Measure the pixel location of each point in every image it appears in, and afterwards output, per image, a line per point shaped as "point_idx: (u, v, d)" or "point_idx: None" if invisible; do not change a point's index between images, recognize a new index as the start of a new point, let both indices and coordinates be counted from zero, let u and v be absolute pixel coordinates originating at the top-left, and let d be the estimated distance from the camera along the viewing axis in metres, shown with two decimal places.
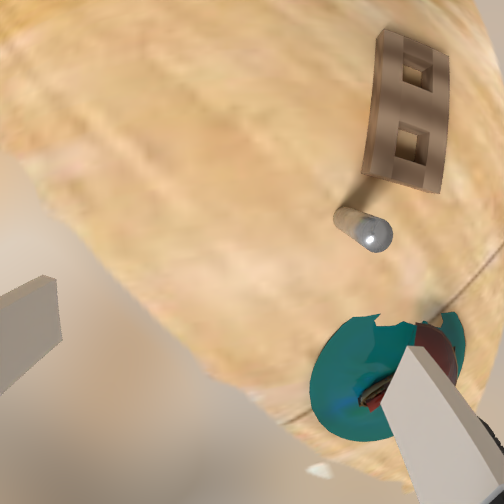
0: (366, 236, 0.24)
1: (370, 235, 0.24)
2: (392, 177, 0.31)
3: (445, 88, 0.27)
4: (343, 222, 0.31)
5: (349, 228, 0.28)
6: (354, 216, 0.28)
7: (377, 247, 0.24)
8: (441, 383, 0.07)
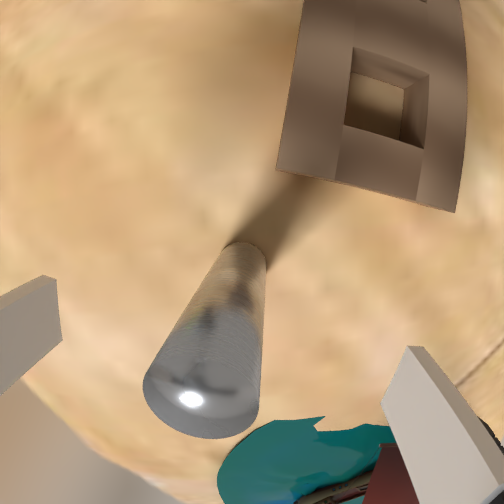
0: (160, 400, 0.07)
1: (173, 399, 0.07)
2: (337, 176, 0.13)
3: (452, 1, 0.10)
4: None
5: None
6: (194, 296, 0.11)
7: (205, 428, 0.07)
8: (441, 383, 0.07)
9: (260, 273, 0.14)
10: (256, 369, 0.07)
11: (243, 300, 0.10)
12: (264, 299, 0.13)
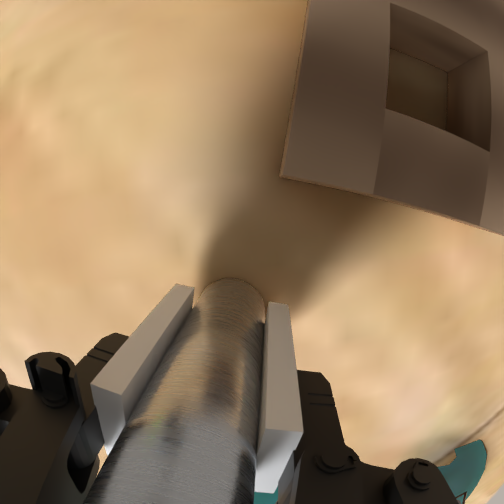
0: None
1: None
2: (378, 189, 0.08)
3: None
4: None
5: None
6: (140, 404, 0.05)
7: None
8: (276, 331, 0.09)
9: (255, 339, 0.09)
10: None
11: (220, 429, 0.05)
12: (260, 387, 0.08)
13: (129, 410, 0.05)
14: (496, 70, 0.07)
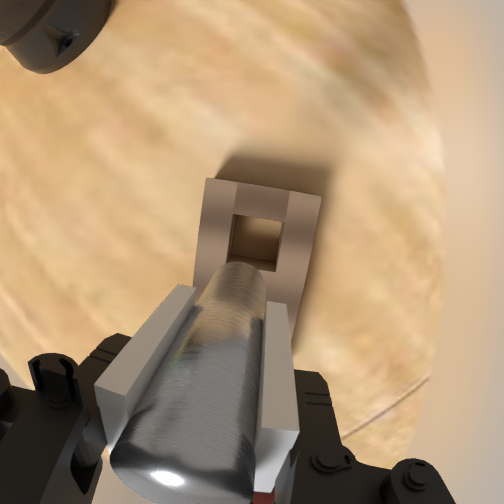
0: (132, 477, 0.04)
1: (147, 479, 0.04)
2: None
3: (302, 259, 0.26)
4: None
5: None
6: (177, 339, 0.08)
7: None
8: (274, 330, 0.09)
9: (258, 303, 0.12)
10: (250, 448, 0.05)
11: (236, 349, 0.08)
12: None
13: (132, 411, 0.05)
14: None
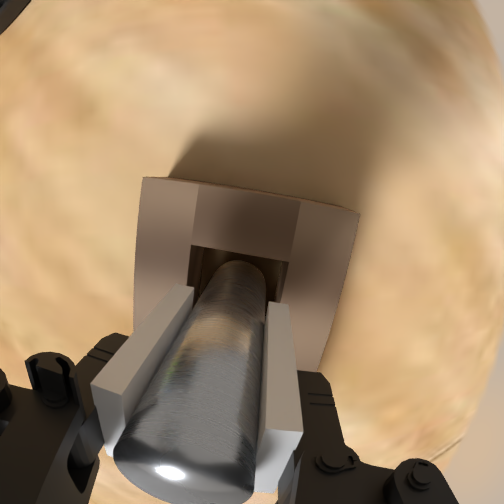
0: (135, 472, 0.05)
1: (150, 474, 0.05)
2: None
3: (317, 325, 0.14)
4: None
5: None
6: (179, 337, 0.09)
7: (191, 501, 0.05)
8: (276, 331, 0.09)
9: (259, 301, 0.12)
10: (252, 443, 0.05)
11: (238, 346, 0.08)
12: (263, 334, 0.11)
13: (129, 410, 0.05)
14: None
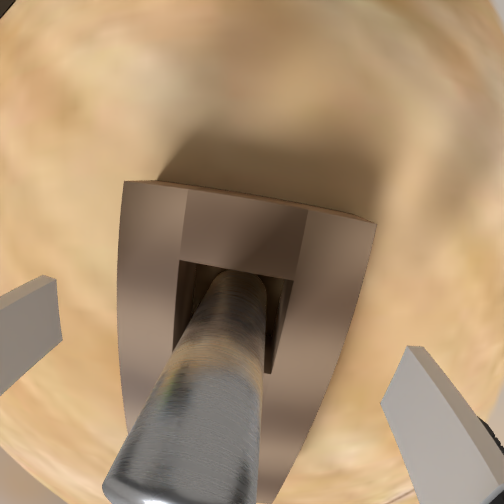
0: None
1: None
2: None
3: (325, 351, 0.12)
4: None
5: None
6: (173, 357, 0.08)
7: None
8: (441, 383, 0.07)
9: (259, 314, 0.11)
10: (252, 480, 0.04)
11: (236, 370, 0.07)
12: (264, 351, 0.10)
13: None
14: None
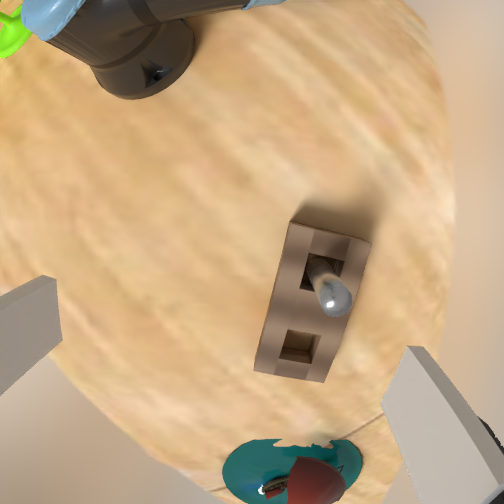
0: (325, 302, 0.26)
1: (329, 301, 0.26)
2: (274, 373, 0.38)
3: (353, 287, 0.35)
4: (312, 278, 0.33)
5: (315, 287, 0.30)
6: (320, 276, 0.30)
7: (336, 312, 0.27)
8: (441, 383, 0.07)
9: None
10: None
11: (338, 278, 0.30)
12: None
13: None
14: (322, 341, 0.36)
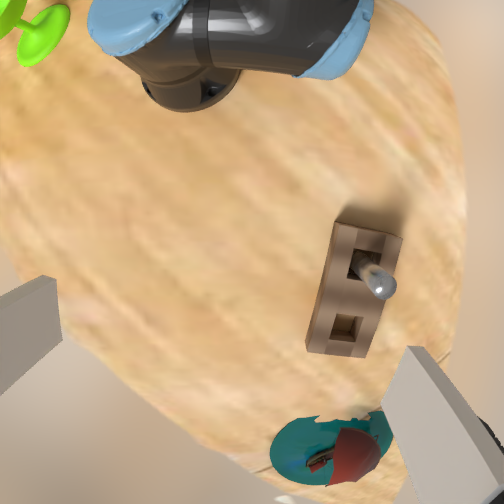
0: (377, 288, 0.32)
1: (380, 287, 0.32)
2: (325, 353, 0.44)
3: None
4: (358, 269, 0.39)
5: (363, 277, 0.36)
6: (368, 268, 0.36)
7: (384, 296, 0.32)
8: (441, 383, 0.07)
9: None
10: None
11: None
12: None
13: None
14: (365, 321, 0.42)
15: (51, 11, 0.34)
